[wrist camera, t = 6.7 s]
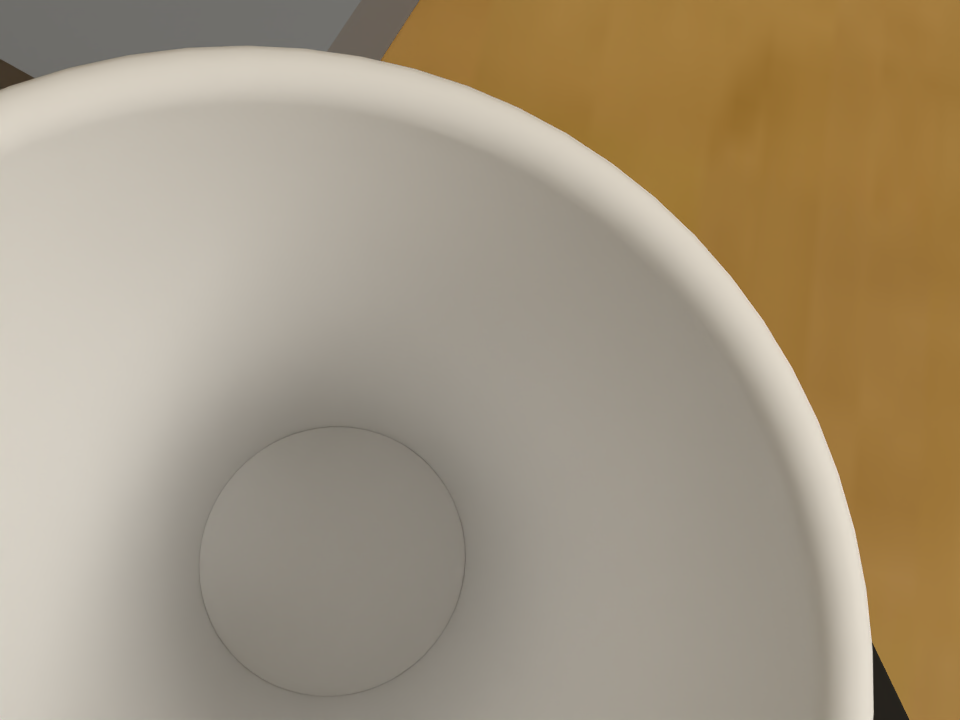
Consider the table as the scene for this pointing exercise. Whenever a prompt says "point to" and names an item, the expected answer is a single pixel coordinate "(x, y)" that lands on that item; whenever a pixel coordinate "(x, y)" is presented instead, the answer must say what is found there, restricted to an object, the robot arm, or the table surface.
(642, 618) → the dixie cup
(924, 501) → the table surface
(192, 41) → the plinth
